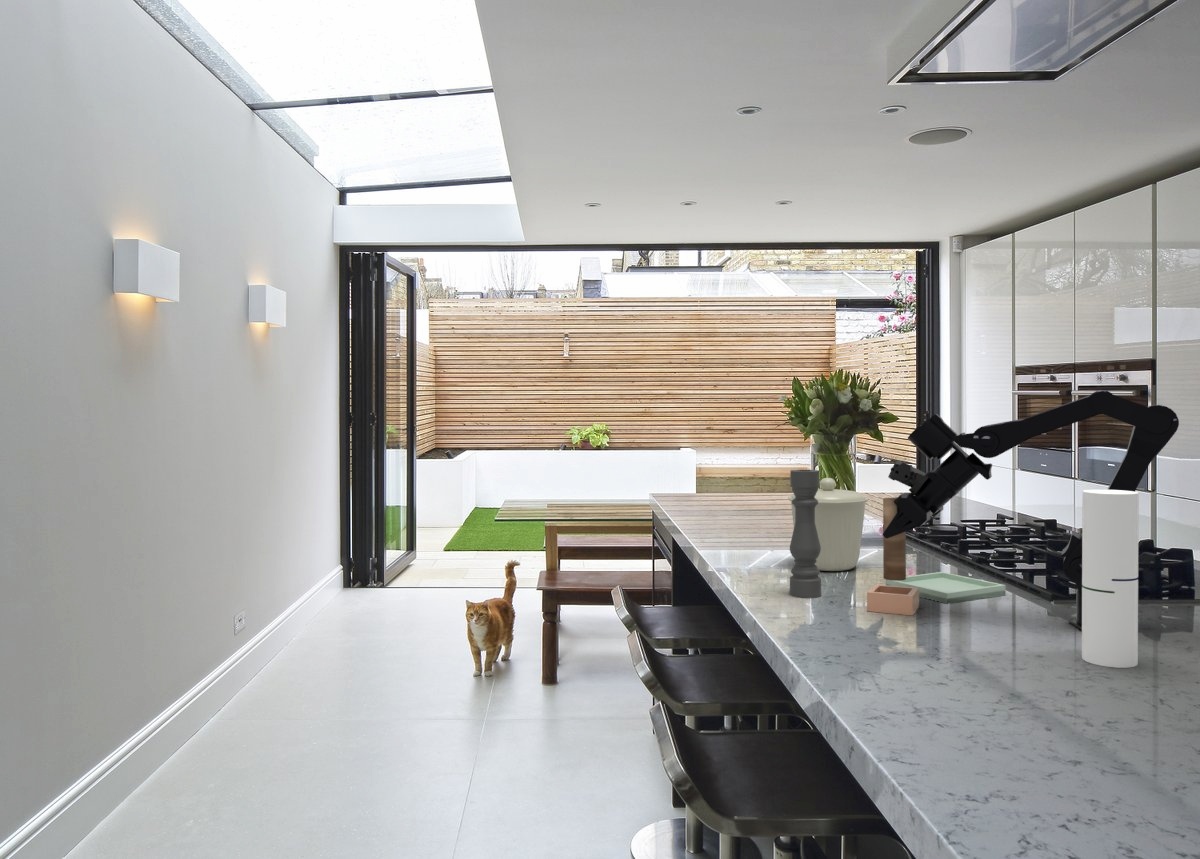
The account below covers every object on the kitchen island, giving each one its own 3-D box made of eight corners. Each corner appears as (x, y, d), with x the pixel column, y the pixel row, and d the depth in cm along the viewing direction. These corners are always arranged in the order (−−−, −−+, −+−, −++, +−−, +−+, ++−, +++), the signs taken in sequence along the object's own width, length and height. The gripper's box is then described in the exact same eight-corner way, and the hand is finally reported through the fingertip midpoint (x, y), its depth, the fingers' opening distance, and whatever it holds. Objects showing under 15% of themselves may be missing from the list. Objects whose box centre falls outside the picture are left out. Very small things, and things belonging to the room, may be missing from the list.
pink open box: (918, 606, 166) (918, 587, 166) (912, 615, 159) (912, 596, 158) (875, 602, 169) (875, 584, 169) (867, 611, 162) (866, 592, 162)
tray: (1005, 595, 174) (1005, 585, 174) (947, 603, 167) (947, 593, 167) (941, 581, 189) (941, 571, 189) (885, 588, 182) (885, 579, 182)
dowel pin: (907, 580, 163) (907, 500, 162) (885, 580, 163) (884, 499, 163) (903, 576, 167) (903, 497, 166) (882, 576, 167) (881, 497, 167)
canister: (773, 565, 210) (772, 477, 209) (833, 558, 217) (832, 473, 217) (822, 578, 193) (821, 482, 193) (885, 570, 201) (885, 478, 201)
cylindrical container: (1145, 668, 126) (1146, 494, 125) (1091, 666, 127) (1092, 494, 126) (1126, 654, 133) (1127, 489, 132) (1075, 652, 134) (1075, 489, 133)
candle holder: (818, 591, 180) (818, 469, 179) (823, 598, 173) (822, 471, 173) (788, 591, 180) (787, 469, 180) (791, 597, 174) (790, 471, 173)
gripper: (925, 444, 170) (867, 498, 176) (906, 449, 154) (843, 508, 160) (969, 486, 167) (908, 540, 172) (954, 495, 150) (887, 555, 156)
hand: (886, 535), depth 165 cm, fingers closed on dowel pin, 4 cm apart
